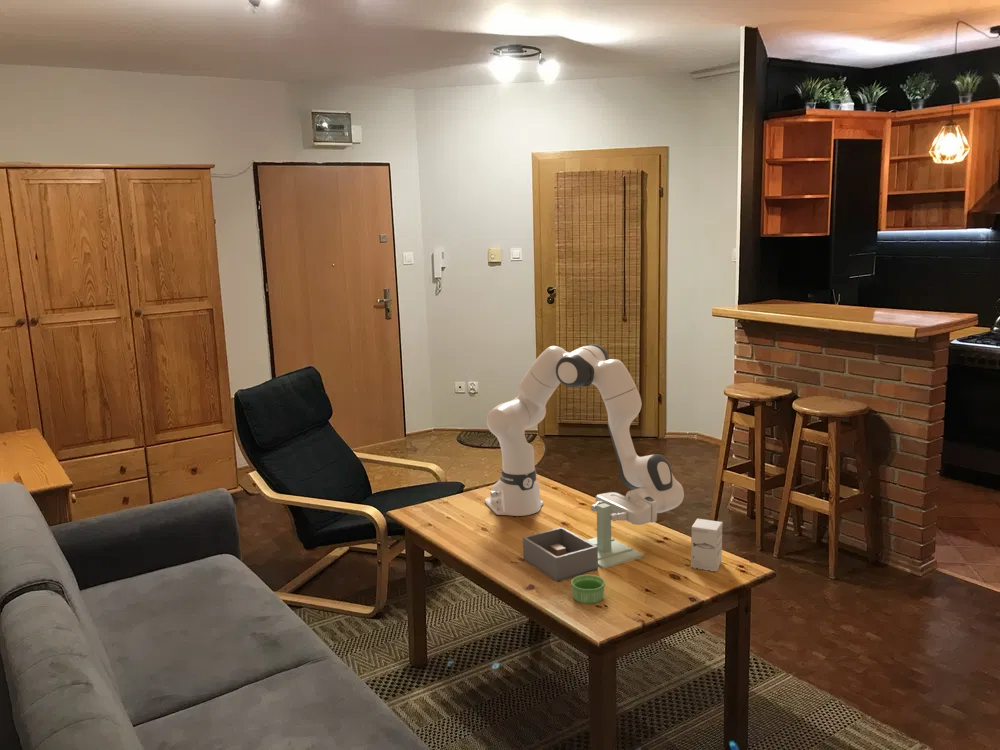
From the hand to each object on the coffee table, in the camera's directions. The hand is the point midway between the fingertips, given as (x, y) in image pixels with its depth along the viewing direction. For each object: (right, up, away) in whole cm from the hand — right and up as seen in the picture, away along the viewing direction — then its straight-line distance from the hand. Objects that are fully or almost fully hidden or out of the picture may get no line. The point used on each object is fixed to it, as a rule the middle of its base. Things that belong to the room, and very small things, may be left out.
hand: (601, 513), depth 236 cm
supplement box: (+29, -14, -9) cm, 33 cm away
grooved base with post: (+1, -12, +3) cm, 13 cm away
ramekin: (-7, -18, -25) cm, 32 cm away
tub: (-13, -14, -5) cm, 20 cm away
